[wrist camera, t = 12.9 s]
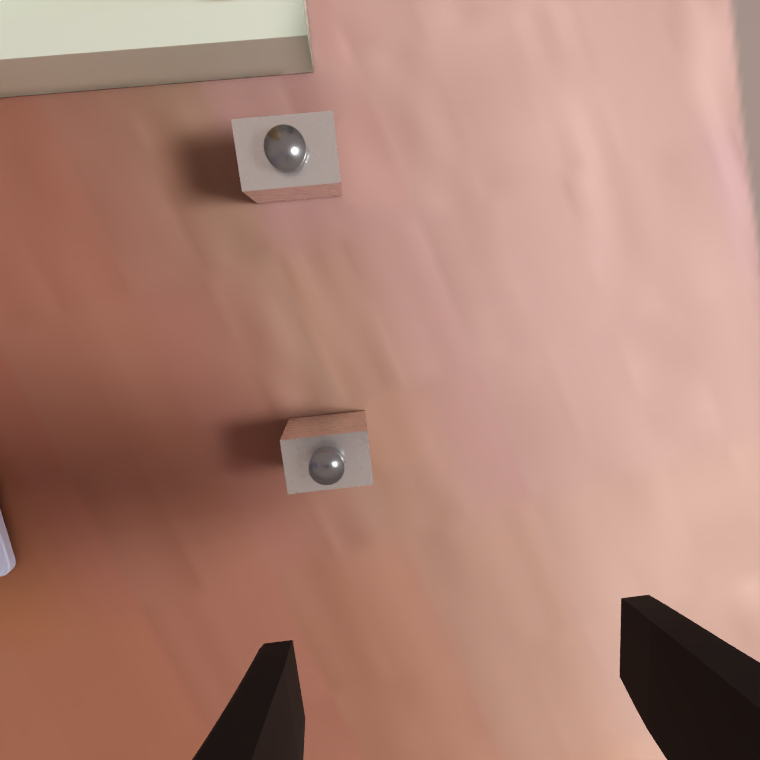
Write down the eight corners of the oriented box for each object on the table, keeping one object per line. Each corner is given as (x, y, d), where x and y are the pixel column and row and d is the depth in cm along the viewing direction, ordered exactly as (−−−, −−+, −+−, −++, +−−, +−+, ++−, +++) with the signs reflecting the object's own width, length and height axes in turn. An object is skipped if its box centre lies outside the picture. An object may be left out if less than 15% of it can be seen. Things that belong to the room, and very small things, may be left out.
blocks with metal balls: (295, 466, 19) (286, 501, 16) (248, 142, 16) (226, 113, 13) (370, 457, 19) (373, 490, 16) (335, 135, 16) (332, 104, 13)
